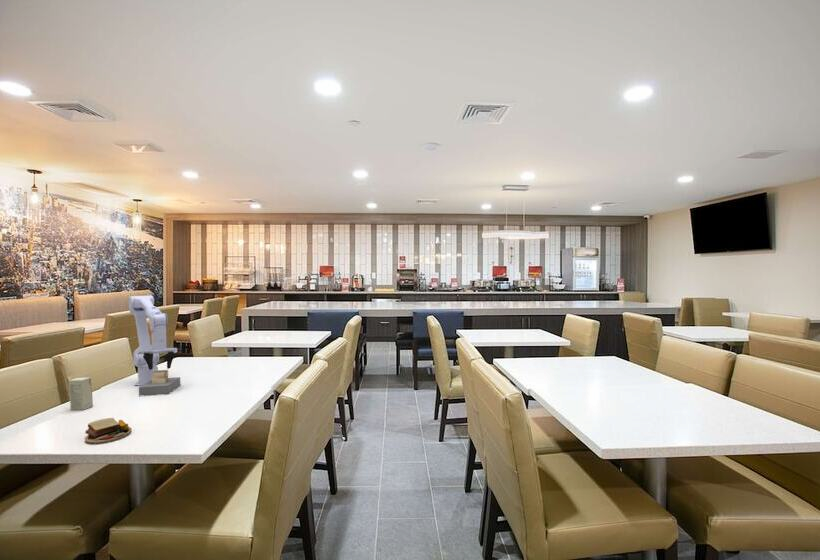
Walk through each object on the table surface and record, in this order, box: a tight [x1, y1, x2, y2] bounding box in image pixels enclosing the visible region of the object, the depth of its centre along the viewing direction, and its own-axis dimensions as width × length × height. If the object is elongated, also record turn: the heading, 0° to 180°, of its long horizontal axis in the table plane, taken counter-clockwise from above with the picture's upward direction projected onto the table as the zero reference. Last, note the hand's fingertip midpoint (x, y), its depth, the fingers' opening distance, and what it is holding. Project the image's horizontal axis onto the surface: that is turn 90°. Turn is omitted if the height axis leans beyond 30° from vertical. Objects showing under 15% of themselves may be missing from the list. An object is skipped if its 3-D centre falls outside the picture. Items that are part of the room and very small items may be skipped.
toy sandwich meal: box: [84, 417, 132, 444], centre depth 133 cm, size 12×14×5 cm
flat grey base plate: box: [138, 376, 181, 396], centre depth 184 cm, size 14×12×4 cm
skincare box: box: [68, 377, 94, 411], centre depth 161 cm, size 6×4×12 cm
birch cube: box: [152, 369, 169, 384], centre depth 184 cm, size 5×5×5 cm
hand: (160, 368), depth 184 cm, fingers open, 7 cm apart
